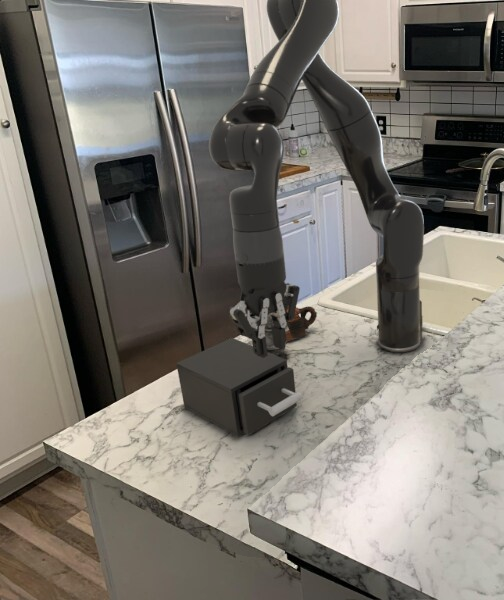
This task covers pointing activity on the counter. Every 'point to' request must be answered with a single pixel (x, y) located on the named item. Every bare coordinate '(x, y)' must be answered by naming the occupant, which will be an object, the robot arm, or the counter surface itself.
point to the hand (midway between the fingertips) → (270, 351)
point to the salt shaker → (269, 340)
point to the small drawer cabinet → (222, 380)
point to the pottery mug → (300, 323)
